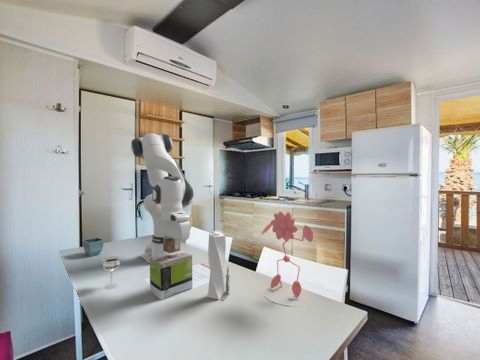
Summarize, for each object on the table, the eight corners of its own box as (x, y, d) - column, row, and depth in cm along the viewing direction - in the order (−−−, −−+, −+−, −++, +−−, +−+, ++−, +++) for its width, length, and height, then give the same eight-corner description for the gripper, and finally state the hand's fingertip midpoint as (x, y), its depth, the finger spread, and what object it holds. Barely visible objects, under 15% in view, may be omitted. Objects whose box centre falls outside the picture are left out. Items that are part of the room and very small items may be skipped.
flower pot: (97, 251, 153) (97, 237, 153) (104, 254, 148) (104, 239, 148) (82, 255, 146) (82, 240, 146) (88, 258, 141) (88, 242, 141)
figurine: (268, 279, 116) (268, 206, 114) (319, 299, 98) (320, 213, 96) (246, 291, 105) (246, 210, 103) (298, 316, 87) (300, 219, 85)
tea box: (180, 281, 113) (181, 249, 112) (192, 288, 106) (193, 255, 105) (149, 291, 102) (149, 257, 102) (160, 300, 95) (160, 263, 95)
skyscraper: (222, 303, 94) (223, 232, 94) (203, 299, 97) (204, 230, 96) (230, 293, 102) (231, 227, 102) (213, 290, 105) (213, 225, 104)
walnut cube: (163, 250, 103) (163, 239, 103) (173, 248, 107) (173, 236, 107) (169, 253, 100) (169, 241, 100) (180, 250, 104) (180, 238, 104)
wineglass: (113, 281, 111) (113, 255, 111) (123, 284, 108) (123, 258, 108) (99, 287, 105) (99, 260, 105) (109, 291, 102) (109, 263, 102)
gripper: (152, 212, 108) (152, 243, 108) (179, 218, 94) (179, 253, 95) (165, 211, 112) (165, 240, 113) (192, 216, 99) (192, 250, 99)
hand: (171, 246), depth 104 cm, fingers closed on walnut cube, 5 cm apart
